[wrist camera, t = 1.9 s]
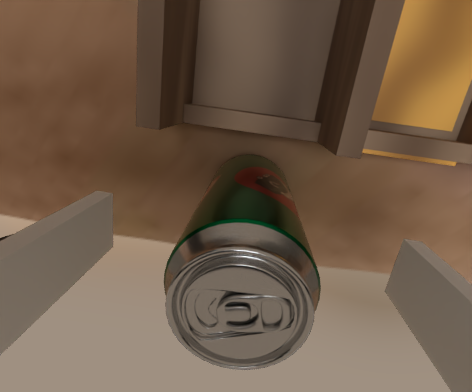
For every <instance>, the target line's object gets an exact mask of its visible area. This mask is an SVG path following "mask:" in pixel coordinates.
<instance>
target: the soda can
mask: <svg viewBox="0 0 472 392" xmlns="http://www.w3.org/2000/svg"><path fill="white" fill-rule="evenodd" d="M164 288H165V294H166V315H167V319H168V322H169V325H170V327H171V329H172V331H173V333H174V335H175V336H176V337H177V339H178V340H179V341H180V343H181V344H182V345H183V346H184V347H185V348H186V349H188V350H189V351H190V352H192V353H193V354H194V355H196V356H197V357H199V358H201V359H202V360H204V361H207V362H209V363H211V364H214V365H217V366H220V367H224V368H229V369H238V370H250V369H259V368H265V367H268V366H271V365H274V364H277V363H279V362H281V361H283V360H285V359H286V358H288V357H289V356H291V355H293V354H294V353H295V352H296V351H297V350H298V349H299V348H300V347H301V346H302V345H303V343H304V342H305V341H306V339H307V337H308V335H309V334H310V332H311V329H312V325H313V322H314V313H315V311H316V308H317V305H318V301H319V298H320V277H319V273H318V270H317V266H316V263H315V261H314V258H313V255H312V252H311V249H310V247H309V244H308V241H307V238H306V235H305V232H304V230H303V227H302V224H301V221H300V218H299V216H298V213H297V210H296V207H295V204H294V201H293V199H292V196H291V193H290V190H289V187H288V185H287V182H286V179H285V177H284V175H283V173H282V171H281V170H280V169H279V168H278V167H277V166H276V164H274V163H273V162H272V161H270V160H268V159H266V158H264V157H261V156H257V155H242V156H238V157H235V158H233V159H231V160H229V161H227V162H226V163H225V164H224V165H223V166H222V167H221V168H220V169H219V170H218V172H217V173H216V175H215V177H214V178H213V180H212V182H211V184H210V186H209V187H208V189H207V191H206V193H205V194H204V196H203V198H202V200H201V202H200V203H199V205H198V207H197V209H196V210H195V212H194V214H193V216H192V218H191V219H190V221H189V223H188V225H187V226H186V228H185V230H184V232H183V234H182V235H181V237H180V239H179V241H178V242H177V244H176V246H175V248H174V250H173V251H172V253H171V255H170V258H169V260H168V262H167V266H166V269H165V274H164Z"/></svg>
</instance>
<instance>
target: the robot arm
mask: <svg viewBox="0 0 472 392" xmlns="http://www.w3.org/2000/svg"><path fill="white" fill-rule="evenodd" d="M112 247H113V193H109V192H102V191H95V192H93V193H91V194H89V195H87V196H85V197H83V198H81V199H80V200H78V201H76V202H74V203H72V204H70V205H68V206H66V207H64V208H62V209H61V210H59V211H57V212H55V213H53V214H51V215H49V216H47V217H45V218H43V219H41V220H40V221H38V222H36V223H34V224H32V225H30V226H28V227H26V228H25V229H22V230H21V231H19V232H17V233H15V234H12V235H9V236H5V237H2V238H0V355H1V354H2V353H3V352H4V351H5V350H6V349H7V348H8V347H9V346H10V345H11V344H12V343H13V342H14V341H16V340H17V339H18V338H19V337H20V336H21V335H22V334H23V333H24V332H25V331H26V330H27V329H28V328H29V327H30V326H31V325H32V324H33V323H34V322H35V321H36V320H37V319H38V318H39V317H40V316H41V315H43V314H44V313H45V312H46V311H47V310H48V309H49V308H50V307H51V306H52V305H53V304H54V303H55V302H56V301H57V300H58V299H59V298H60V297H61V296H62V295H63V294H64V293H65V292H66V291H67V290H68V289H69V288H70V287H72V286H73V285H74V284H75V283H76V282H77V281H78V280H79V279H80V278H81V277H82V276H83V275H84V274H85V273H86V272H87V271H88V270H89V269H90V268H91V267H92V266H93V265H94V264H95V263H97V261H98V260H100V259H101V258H102V257H103V256H104V255H105V254H106V253H107V252H108V251H109V250H110V249H111V248H112ZM385 292H386V294H387V295H388V296H389V298H390V300H391V301H392V303H393V304H394V306H395V307H396V309H397V310H398V311H399V313H400V315H401V316H402V318H403V319H404V321H405V322H406V324H407V325H408V327H409V328H410V330H411V331H412V333H413V334H414V336H415V337H416V339H417V340H418V342H419V343H420V345H421V346H422V348H423V349H424V351H425V352H426V354H427V355H428V357H429V358H430V360H431V361H432V363H433V364H434V366H435V367H436V369H437V370H438V372H439V373H440V375H441V376H442V378H443V379H444V381H445V383H446V384H447V386H448V387H449V388H450V390H451V392H472V284H471V283H469V282H468V281H467V280H466V279H465V278H464V277H462V276H461V275H460V274H459V273H458V272H456V271H455V270H454V269H453V268H452V267H451V266H449V265H448V264H447V263H446V262H445V261H444V260H442V259H441V258H440V257H439V256H438V255H437V254H435V253H434V252H433V251H432V250H431V249H430V248H428V247H427V246H426V245H425V244H424V243H423V242H421V241H415V240H408V239H403V242H402V245H401V248H400V250H399V253H398V256H397V259H396V262H395V264H394V267H393V270H392V273H391V275H390V278H389V281H388V284H387V287H386V289H385Z"/></svg>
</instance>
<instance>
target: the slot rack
mask: <svg viewBox="0 0 472 392" xmlns="http://www.w3.org/2000/svg"><path fill="white" fill-rule="evenodd" d="M180 123H189V124H196V125H203V126H210V127H217V128H224V129H231V130H238V131H245V132H252V133H259V134H266V135H272V136H279V137H286V138H293V139H300V140H307V141H314V142H318V143H319V144H321V145H322V146H324V147H325V148H326V149H328V150H329V151H331V152H332V153H334V154H335V155H337V156H344V157H351V158H358V159H360V158H361V155H362V153H368V154H375V155H382V156H389V157H396V158H402V159H409V160H416V161H423V162H430V163H437V164H444V165H451V166H455V165H456V162H460V163H466V164H472V0H138V30H137V94H136V126H137V127H144V128H151V129H158V130H160V129H163V128H166V127H170V126H173V125H176V124H180Z"/></svg>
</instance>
